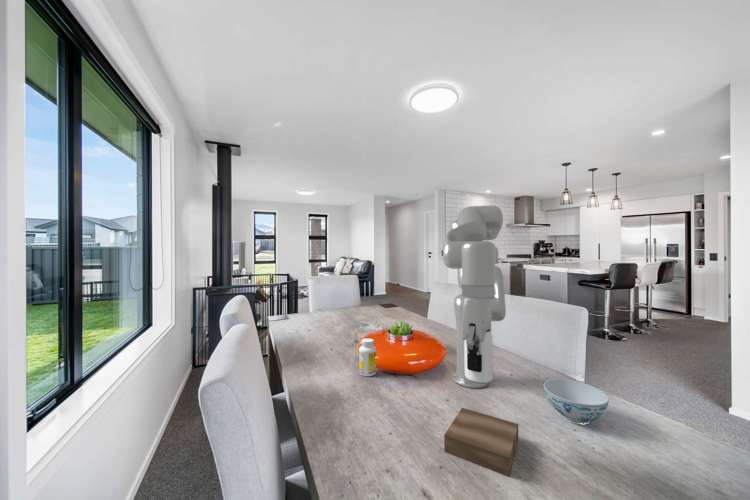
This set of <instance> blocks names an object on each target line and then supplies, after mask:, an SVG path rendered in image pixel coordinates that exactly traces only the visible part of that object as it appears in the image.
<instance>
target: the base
mask: <svg viewBox="0 0 750 500" xmlns="http://www.w3.org/2000/svg"><path fill="white" fill-rule="evenodd" d="M443 439H444V441H443V442H444V445H443V446H444V448H443V449H444V452H445V453H447V454H449V455H451V456H455V457H458V458H460V459H462V460H464V461H467V462H469V463H472V464H475V465H477V466H480V467H483V468H485V469H488V470H490V471H493V472H495V473H498V474H501V475H504V476H506V477H508V478H510V477H511V473H512V468H513V464H514V459H515V456H516V451H517V447H518V444H519V423H516V422H513V421H509V420H506V419H502V418H499V417H496V416H493V415H489V414H485V413H483V412H479V411H475V410H472V409H469V408H465V407H461V408H460V410H459V411H458V413H457V414H456V416H455V418H454V419H453V420H452V422H451V424H450V425H449V427H448V429H447V430H446V431H445V433H444V438H443Z"/></svg>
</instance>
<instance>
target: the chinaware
mask: <svg viewBox="0 0 750 500" xmlns="http://www.w3.org/2000/svg"><path fill="white" fill-rule="evenodd" d="M543 389H544V393H545V395H546V398H547V400H548V401H549V403H550V405H551V406H552V407H553V408H554V410H556V411H557V412H558V413H559V414H560V416H561V417H563V418H562V419H564V418H565V419H566V420H568V421H571V422H575V423H583V424H584V423H588V422H589V421H590V422H593V421H595V420H597V419H599V418H600V417H601V416H603V415H604V413H605V412H606V410H607V409H608V406H609V403H610V400H609V399H610V398H609V396H608V394H606V393H605V392H604V391H602V390H601V389H599V388H598V387H595V386H593V385H591V384H589V383H585V382H582V381H576V380H571V379H565V378H553V379H547V380H545V382H544V383H543ZM565 419H564V420H565ZM566 420H565V421H566ZM568 421H567V422H568ZM571 422H570V423H571Z"/></svg>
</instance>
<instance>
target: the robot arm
mask: <svg viewBox="0 0 750 500" xmlns="http://www.w3.org/2000/svg"><path fill="white" fill-rule="evenodd" d="M503 225H504V215H503V211H502V209H501V208H500V206H499V207H498V206H497V205H493V204H492V205H472V206H467V207H464V208H462V209H461V210H460V211H459V212H458V215H457V219H455V220H453V221H452V222H451V223H450V226H449V231H448V232H447V233H446V234H445V236H444V238H443V243H442V245H443V246H442V261H443V263H444V265H445V266H446V267H447V268H448V269H451V270H452V269H453V270H455V269H456V270H457V284H458V287H459V288H460V289H461V293H459V294H458V295H456V296H455V297H454V300H453V308H454V309H453V311H454V315H455V323H456V324H455V325H456V371H455V372H453V374H452V380H453V382H455V383H456V384H457V385H460V386H461V387H466V388H469V389H470V388H471V389H481V388H485V387H488V386H489V384H490V382H489V383H475V382H472V381H470V380H468V379H467V378H466V377H465V364H464V340H466V339H467V341H466V344H467V369H468V370H471V371H476V372H481V371H482V355H481V354H480V351H481V343H482V342H483V341H484V339H485V336H486V332H487V331H489V329H490V332H491V333H492V322H502V321H503V320H504V319H505V317H506V315H507V314H506V313H507V311H506V310H507V309H506V308H507V307H506V306H507V305H506V295H505V282H504V275H503V271H502V269H501V268H500V267H499V266H497V265H496V264H497V263H498V261H499V250H498V247H496V245H495V243H493V242H492V240H493V241H494V240H496V239H497V238H498V237H499V234H500V232H501V230H502V228H503ZM467 335H468V337H467ZM475 337H477V338H479V340H478V341H477V340H474V338H475ZM474 343H477V347H476V345H474Z"/></svg>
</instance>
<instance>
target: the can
mask: <svg viewBox="0 0 750 500" xmlns="http://www.w3.org/2000/svg"><path fill="white" fill-rule="evenodd" d="M467 337H468V335H467ZM474 340H477V341H478V340H479V338H477V337H475V338H474ZM466 341H467V339H466V340H464V364H465V377H466V378H467V379H468V380H470V381H472V382H475V383H489V384H490V382H492V380H493V379H494V375H493V374H494V360H493V359H494V358H493V357H494V355H493V354H494V353H493V352H494V350H493V349H494V347H493V343H494V342H493V335H492V331H491V332H490V329H489V331H487V332H486V336H485V339H484V341H483V342H482V343H481V351H480V354H481V355H482V371H481V372H476V371H471V370H468V369H467V344H466ZM474 345H476V347H477V343H474Z"/></svg>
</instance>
